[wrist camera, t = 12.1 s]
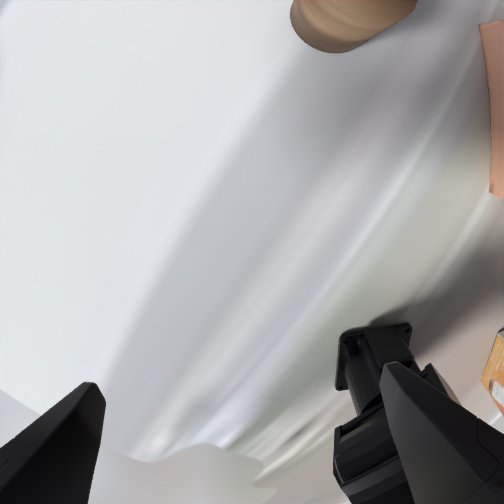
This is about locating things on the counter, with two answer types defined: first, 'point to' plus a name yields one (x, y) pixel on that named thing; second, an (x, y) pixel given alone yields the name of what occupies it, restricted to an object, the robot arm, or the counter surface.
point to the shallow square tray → (495, 98)
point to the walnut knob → (345, 21)
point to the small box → (495, 373)
